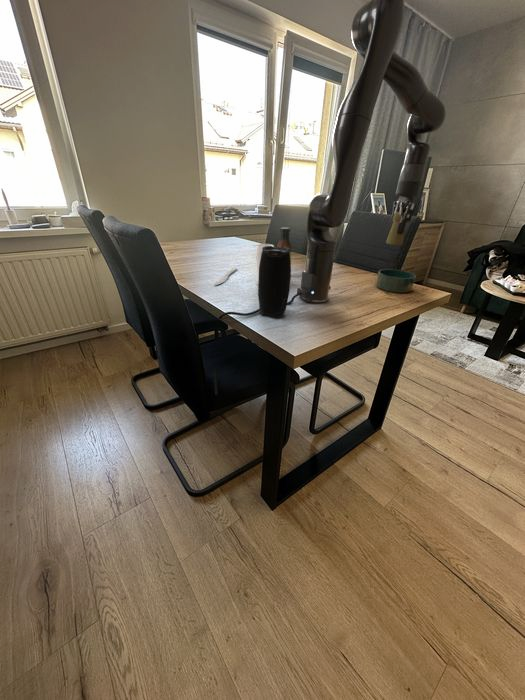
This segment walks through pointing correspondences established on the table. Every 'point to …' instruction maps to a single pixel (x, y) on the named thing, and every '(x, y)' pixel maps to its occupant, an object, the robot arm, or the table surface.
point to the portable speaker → (274, 280)
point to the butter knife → (225, 276)
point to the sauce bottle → (285, 239)
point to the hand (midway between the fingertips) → (396, 232)
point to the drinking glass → (258, 256)
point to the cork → (395, 232)
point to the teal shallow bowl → (395, 280)
